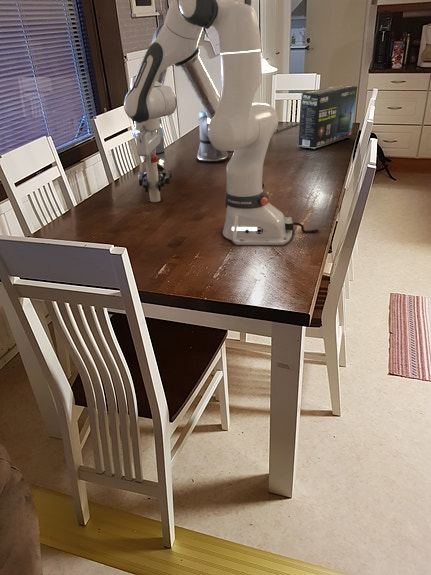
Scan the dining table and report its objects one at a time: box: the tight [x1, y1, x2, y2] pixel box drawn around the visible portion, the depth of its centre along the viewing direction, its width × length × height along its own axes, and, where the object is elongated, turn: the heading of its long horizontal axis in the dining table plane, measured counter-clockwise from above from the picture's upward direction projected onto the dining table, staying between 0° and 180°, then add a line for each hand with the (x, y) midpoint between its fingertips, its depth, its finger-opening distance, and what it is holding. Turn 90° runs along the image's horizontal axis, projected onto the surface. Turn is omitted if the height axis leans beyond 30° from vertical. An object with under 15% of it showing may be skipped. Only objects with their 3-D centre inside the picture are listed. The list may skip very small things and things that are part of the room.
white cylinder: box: [145, 162, 162, 203], centre depth 175 cm, size 4×4×16 cm
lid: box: [143, 155, 158, 164], centre depth 171 cm, size 5×5×2 cm
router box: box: [297, 84, 358, 151], centre depth 238 cm, size 36×11×27 cm, turn 134°
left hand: (152, 188), depth 171 cm, fingers closed on white cylinder, 4 cm apart
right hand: (151, 161), depth 171 cm, fingers closed on lid, 5 cm apart
